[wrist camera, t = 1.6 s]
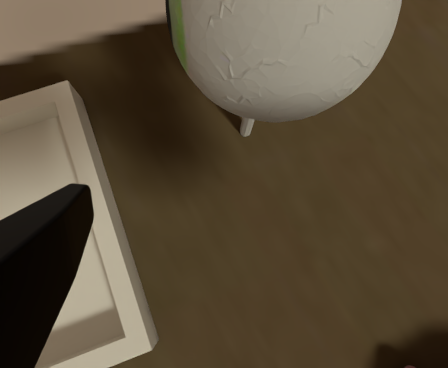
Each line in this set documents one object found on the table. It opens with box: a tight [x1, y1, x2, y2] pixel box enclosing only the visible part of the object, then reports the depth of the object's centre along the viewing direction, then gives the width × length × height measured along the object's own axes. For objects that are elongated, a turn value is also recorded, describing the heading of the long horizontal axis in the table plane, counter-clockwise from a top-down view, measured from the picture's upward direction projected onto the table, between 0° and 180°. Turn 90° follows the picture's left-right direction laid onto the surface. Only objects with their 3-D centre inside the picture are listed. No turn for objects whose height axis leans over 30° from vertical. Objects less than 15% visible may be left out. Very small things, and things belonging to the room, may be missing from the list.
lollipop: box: [166, 0, 402, 137], centre depth 16 cm, size 7×7×15 cm
